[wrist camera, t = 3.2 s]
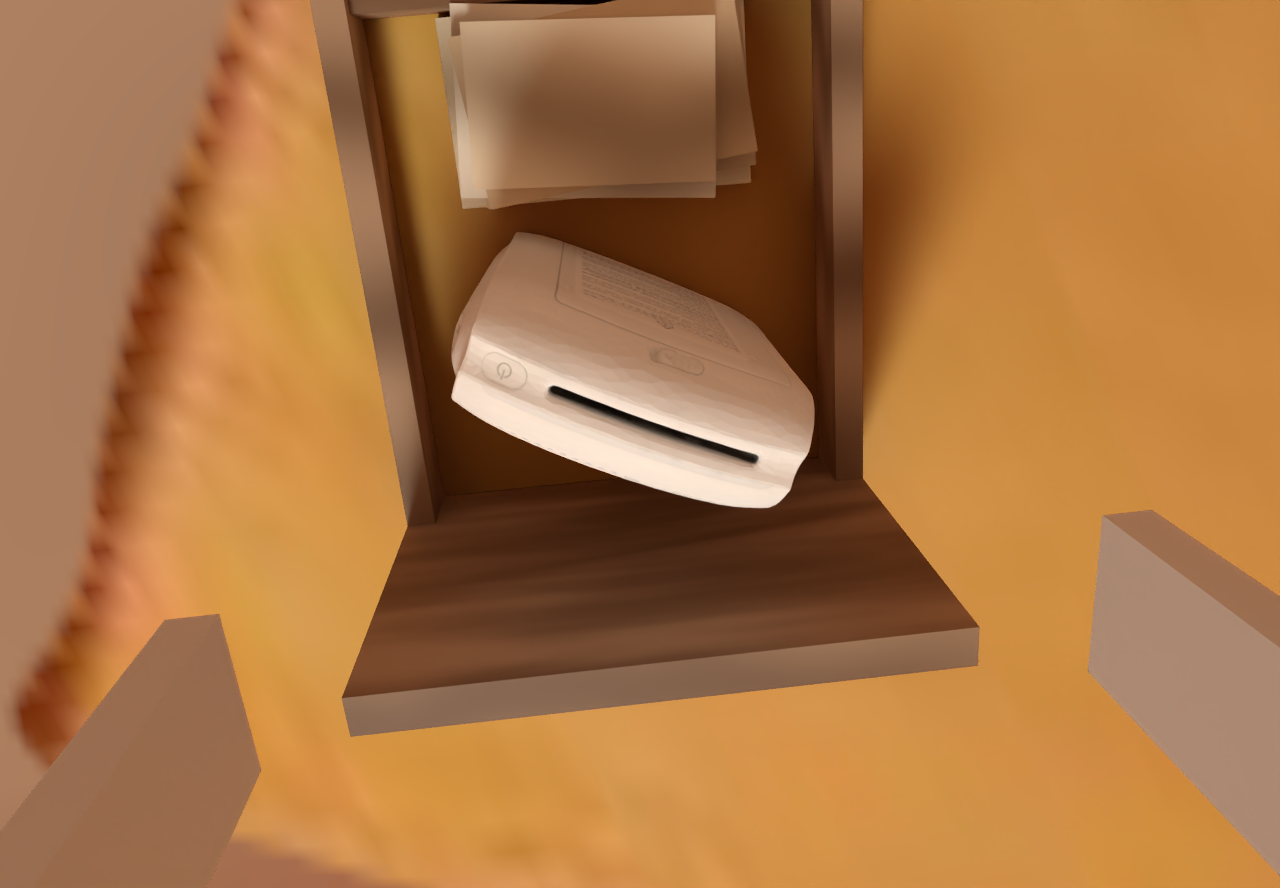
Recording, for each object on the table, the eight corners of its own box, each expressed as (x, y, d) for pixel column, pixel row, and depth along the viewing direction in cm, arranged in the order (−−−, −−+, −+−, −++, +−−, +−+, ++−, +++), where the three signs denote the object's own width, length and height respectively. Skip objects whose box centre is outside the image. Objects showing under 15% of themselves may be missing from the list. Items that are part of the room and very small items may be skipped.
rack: (328, 1, 30) (166, -68, 18) (840, -41, 31) (1016, -136, 19) (423, 527, 37) (350, 736, 25) (844, 482, 37) (977, 665, 25)
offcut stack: (436, 9, 31) (420, -3, 27) (741, -17, 31) (762, -31, 28) (465, 214, 33) (454, 226, 30) (750, 188, 33) (769, 197, 30)
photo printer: (466, 324, 34) (413, 436, 23) (504, 212, 33) (468, 270, 21) (722, 416, 36) (795, 564, 24) (767, 314, 35) (866, 418, 23)
